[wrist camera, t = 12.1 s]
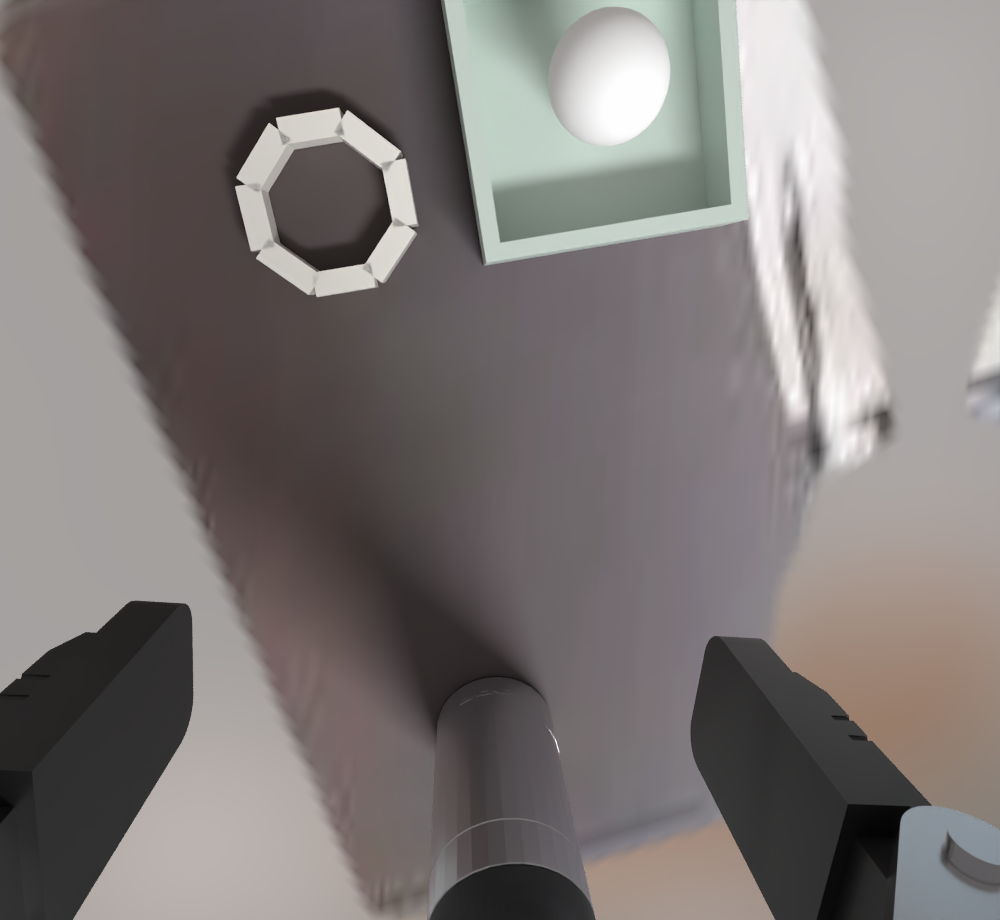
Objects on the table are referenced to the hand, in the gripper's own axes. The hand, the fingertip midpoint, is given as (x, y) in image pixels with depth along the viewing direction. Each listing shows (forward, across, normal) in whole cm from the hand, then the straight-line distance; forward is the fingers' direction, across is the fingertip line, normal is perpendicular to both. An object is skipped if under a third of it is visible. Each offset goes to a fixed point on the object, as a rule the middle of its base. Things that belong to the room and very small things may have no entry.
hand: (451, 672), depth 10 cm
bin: (+36, -7, -17) cm, 41 cm away
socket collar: (+36, +9, -10) cm, 38 cm away
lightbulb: (+36, -6, -17) cm, 40 cm away
